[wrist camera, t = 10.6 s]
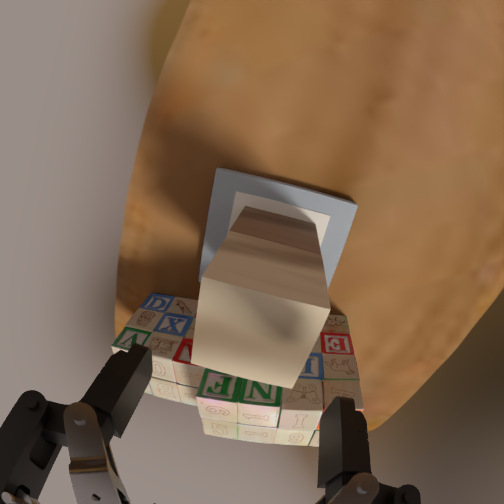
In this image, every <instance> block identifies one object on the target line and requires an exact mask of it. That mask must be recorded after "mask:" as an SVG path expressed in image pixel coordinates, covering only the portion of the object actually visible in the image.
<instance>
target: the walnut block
mask: <svg viewBox="0 0 504 504" xmlns="http://www.w3.org/2000/svg"><path fill="white" fill-rule="evenodd" d="M230 231H233V232H237V233H241V234H245V235H249V236H253V237H256V238H260V239H264V240H268V241H272V242H276V243H280V244H283V245H287V246H291V247H295V248H299V249H302V250H306V251H310V252H314V253H317V254H321V250H320V244H319V239H318V234H317V229H316V224H314V223H310V222H307V221H303V220H299V219H295V218H292V217H288V216H284V215H280V214H276V213H272V212H268V211H264V210H260V209H256V208H252V207H248V206H245V207H244V208H243V210H242V211H241V213H240V215H239V216H238V218H237V219H236V221H235V222H234V224H233V225H232V227H231V228H230V230H229V232H230Z"/></svg>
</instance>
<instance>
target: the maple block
mask: <svg viewBox="0 0 504 504" xmlns="http://www.w3.org/2000/svg"><path fill="white" fill-rule="evenodd" d="M330 310H331V307H330V301H329V294H328V288H327V282H326V276H325V270H324V264H323V259H322V255H321V254H317V253H314V252H310V251H306V250H302V249H299V248H295V247H291V246H287V245H283V244H280V243H276V242H272V241H268V240H264V239H260V238H256V237H253V236H249V235H245V234H241V233H237V232H233V231H230V232H229V234H228V235H227V237H226V238H225V240H224V241H223V243H222V245H221V246H220V248H219V249H218V251H217V253H216V254H215V256H214V257H213V259H212V261H211V262H210V264H209V266H208V267H207V269H206V270H205V272H204V274H203V275H202V279H201V286H200V293H199V300H198V308H197V315H196V323H195V331H194V339H193V348H192V357H191V363H192V364H195V365H198V366H202V367H205V368H208V369H212V370H215V371H219V372H222V373H226V374H230V375H233V376H237V377H241V378H245V379H249V380H253V381H258V382H262V383H266V384H271V385H276V386H280V387H285V388H290V389H292V388H293V386H294V384H295V382H296V380H297V378H298V376H299V375H300V373H301V371H302V369H303V367H304V365H305V363H306V361H307V359H308V357H309V355H310V353H311V351H312V349H313V347H314V345H315V343H316V341H317V339H318V336H319V334H320V332H321V330H322V328H323V326H324V324H325V321H326V319H327V317H328V315H329V313H330Z"/></svg>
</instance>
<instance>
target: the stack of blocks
mask: <svg viewBox="0 0 504 504" xmlns="http://www.w3.org/2000/svg"><path fill="white" fill-rule="evenodd" d="M197 308H198V300H195V299H188V298H182V297H174V296H168V295H161V294H155V293H151V294H150V295H149V296H148V297H147V299H146V300H145V301H144V302H143V303H142V305H141V306H140V307H139V309H137V311H136V312H135V313H134V314H133V316H132V317H131V318H130V320H129V321H128V322H127V324H126V327H125V328H124V329H123V330H122V332H121V333H120V334H119V336H118V337H117V338H116V340H115V341H114V343H113V344H112V345H111V347H112V349H113V353H114V354H115V353H116V352H118V351H120V350H123V351H125V352H128V351H129V349H130V348H131V346H132V345H133V344H134V343H138V344H140V345H143V346H146V347H148V348H151V349H152V364H153V372H152V377H151V380H150V382H149V384H148V386H147V388H146V390H145V392H144V393H148V394H153V395H154V396H157V397H161V398H165V399H169V400H173V401H177V402H182V403H185V404H190V405H195V406H198V409H199V413H200V416H201V420H202V424H203V429H204V433H205V434H208V435H213V436H218V437H224V438H230V439H239V440H244V441H251V442H260V443H274V444H286V445H303V446H305V445H309V446H319V424H320V419H321V416H322V414H323V413H324V411H325V410H326V409H327V407H328V406H329V405H330V403H331V402H332V401H333V399H334V398H335V397H336V396H340V397H347V398H353V399H354V401H355V410H357V411H361V412H363V410H364V406H363V400H362V394H361V388H360V383H359V382H360V378H359V374H358V368H357V362H356V358H355V355H354V350H353V345H352V341H351V337H350V330H349V326H348V321H347V317H346V316H341V315H328V317H327V319H326V321H325V324H324V326H323V328H322V330H321V332H320V334H319V336H318V339H317V341H316V343H315V345H314V347H313V349H312V351H311V353H310V355H309V357H308V359H307V361H306V363H305V365H304V367H303V369H302V371H301V373H300V375H299V376H298V378H297V380H296V382H295V384H294V386H293V388H292V389H290V388H285V387H280V386H276V385H271V384H266V383H262V382H258V381H253V380H249V379H245V378H241V377H237V376H233V375H230V374H226V373H222V372H219V371H215V370H212V369H208V368H205V367H202V366H198V365H195V364H192V363H191V357H192V348H193V339H194V331H195V323H196V315H197Z"/></svg>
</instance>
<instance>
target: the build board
mask: <svg viewBox="0 0 504 504" xmlns="http://www.w3.org/2000/svg"><path fill="white" fill-rule="evenodd" d="M245 206H248V207H252V208H256V209H260V210H264V211H268V212H272V213H276V214H280V215H284V216H288V217H292V218H295V219H299V220H303V221H307V222H310V223H314V224H316V229H317V234H318V239H319V244H320V250H321V255H322V259H323V264H324V270H325V276H326V282H327V288H328V287H329V285H330V282H331V280H332V277H333V274H334V272H335V269H336V267H337V264H338V261H339V259H340V256H341V253H342V250H343V248H344V245H345V242H346V239H347V236H348V234H349V231H350V228H351V225H352V222H353V219H354V216H355V213H356V210H357V207H358V205H357V204H356V203H355V202H352V201H349V200H346V199H342V198H339V197H336V196H332V195H329V194H325V193H322V192H318V191H315V190H311V189H307V188H304V187H300V186H296V185H293V184H289V183H285V182H281V181H277V180H273V179H269V178H265V177H261V176H256V175H252V174H248V173H243V172H239V171H234V170H230V169H225V168H221V167H219V168H217V169H216V173H215V178H214V184H213V189H212V195H211V201H210V207H209V213H208V219H207V225H206V231H205V238H204V244H203V251H202V257H201V264H200V272H199V279H198V282H201V279H202V275H203V274H204V272H205V270H206V269H207V267H208V266H209V264H210V262H211V261H212V259H213V257H214V256H215V254H216V253H217V251H218V249H219V248H220V246H221V245H222V243H223V241H224V240H225V238H226V237H227V235H228V234H229V230H230V228H231V227H232V225H233V224H234V222H235V221H236V219H237V218H238V216H239V215H240V213H241V211H242V210H243V208H244V207H245Z"/></svg>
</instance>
